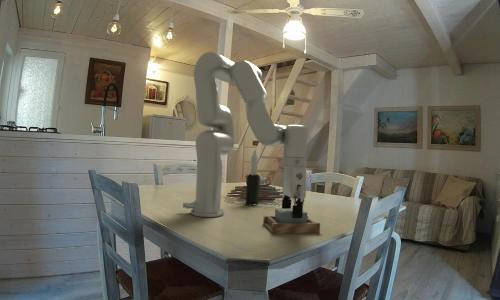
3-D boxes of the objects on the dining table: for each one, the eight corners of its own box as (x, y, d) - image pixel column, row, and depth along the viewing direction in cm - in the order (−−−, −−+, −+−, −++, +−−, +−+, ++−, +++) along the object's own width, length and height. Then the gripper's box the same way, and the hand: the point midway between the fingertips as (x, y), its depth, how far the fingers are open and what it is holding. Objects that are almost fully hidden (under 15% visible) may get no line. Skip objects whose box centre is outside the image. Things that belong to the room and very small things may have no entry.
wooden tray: (272, 233, 91) (272, 224, 91) (263, 224, 101) (263, 215, 101) (319, 232, 95) (320, 223, 95) (306, 224, 104) (307, 215, 104)
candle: (259, 203, 136) (262, 149, 136) (255, 205, 131) (258, 149, 131) (248, 202, 138) (251, 149, 137) (245, 204, 133) (247, 149, 133)
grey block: (280, 228, 94) (281, 212, 94) (274, 223, 100) (275, 207, 99) (306, 227, 96) (307, 212, 96) (299, 222, 102) (300, 207, 102)
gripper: (316, 165, 90) (313, 221, 90) (294, 161, 107) (292, 208, 107) (293, 164, 88) (290, 221, 88) (275, 160, 105) (272, 208, 105)
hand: (291, 214), depth 98 cm, fingers open, 9 cm apart
